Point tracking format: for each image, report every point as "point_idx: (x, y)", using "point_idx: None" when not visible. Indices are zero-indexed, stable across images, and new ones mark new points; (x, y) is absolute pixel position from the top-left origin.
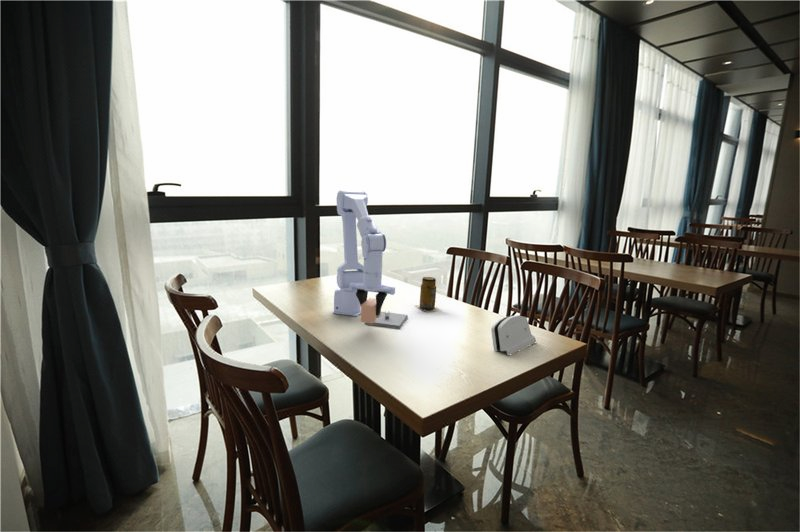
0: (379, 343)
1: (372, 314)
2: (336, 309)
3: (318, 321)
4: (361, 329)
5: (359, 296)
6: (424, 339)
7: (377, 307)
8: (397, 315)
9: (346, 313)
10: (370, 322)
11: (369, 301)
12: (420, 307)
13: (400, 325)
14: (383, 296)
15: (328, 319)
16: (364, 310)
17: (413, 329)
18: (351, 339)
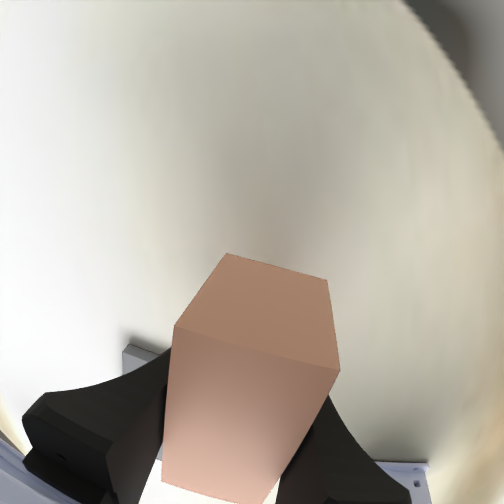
0: (196, 134)
1: (213, 284)
2: (417, 478)
3: (498, 386)
4: None
5: (366, 483)
6: (25, 226)
7: (162, 368)
8: (161, 449)
9: (381, 466)
10: (246, 261)
11: (249, 459)
12: None
13: (125, 364)
14: (27, 410)
15: (458, 413)
16: (297, 323)
17: (77, 333)
18: (368, 176)
